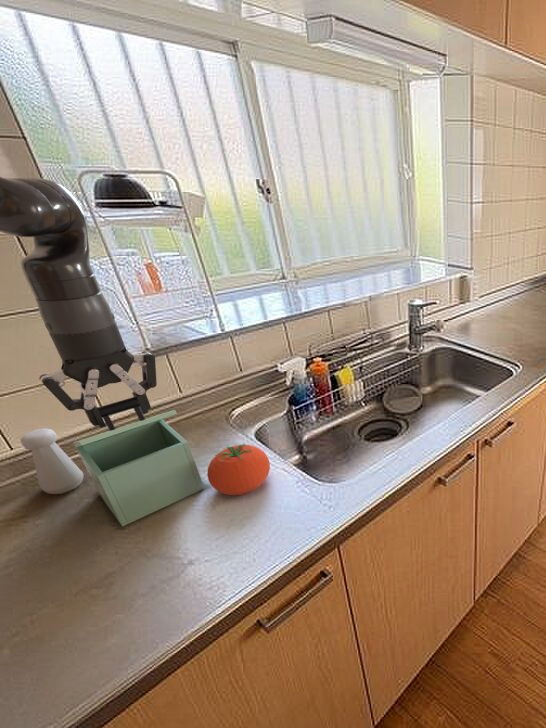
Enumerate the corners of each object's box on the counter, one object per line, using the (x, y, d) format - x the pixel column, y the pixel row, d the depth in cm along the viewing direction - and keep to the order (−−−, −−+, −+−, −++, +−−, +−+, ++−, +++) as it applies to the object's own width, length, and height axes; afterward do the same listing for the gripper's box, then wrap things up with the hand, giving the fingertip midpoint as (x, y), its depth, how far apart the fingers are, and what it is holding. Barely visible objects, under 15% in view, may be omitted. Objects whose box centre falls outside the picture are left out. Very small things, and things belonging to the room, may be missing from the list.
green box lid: (177, 413, 74) (164, 387, 73) (81, 445, 65) (65, 416, 64) (161, 418, 83) (149, 394, 82) (75, 446, 73) (60, 420, 73)
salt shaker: (93, 477, 84) (66, 422, 78) (78, 496, 79) (47, 439, 73) (56, 482, 82) (25, 426, 76) (38, 502, 77) (3, 444, 71)
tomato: (285, 476, 87) (275, 436, 83) (249, 510, 78) (236, 467, 74) (241, 468, 89) (229, 428, 84) (201, 501, 80) (185, 459, 75)
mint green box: (205, 491, 82) (187, 441, 77) (124, 530, 73) (97, 476, 67) (179, 465, 88) (161, 418, 83) (101, 498, 79) (75, 446, 74)
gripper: (132, 309, 71) (165, 397, 79) (8, 329, 60) (59, 428, 68) (148, 318, 67) (181, 410, 75) (18, 342, 57) (72, 446, 64)
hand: (123, 418), depth 71 cm, fingers closed on green box lid, 5 cm apart
